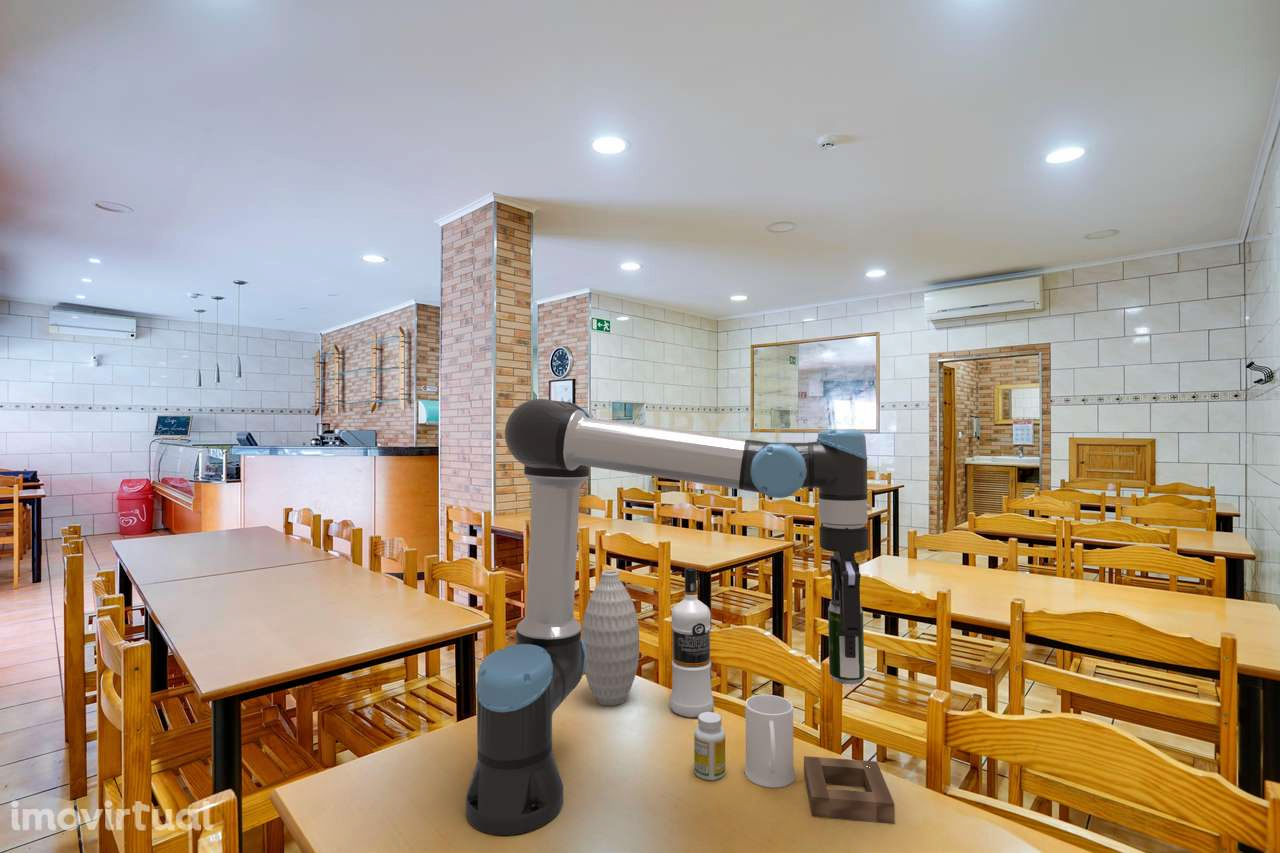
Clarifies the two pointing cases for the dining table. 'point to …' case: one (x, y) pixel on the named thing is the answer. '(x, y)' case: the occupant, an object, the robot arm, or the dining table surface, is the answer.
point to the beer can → (834, 645)
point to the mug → (769, 741)
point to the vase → (610, 640)
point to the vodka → (691, 653)
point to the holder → (846, 802)
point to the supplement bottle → (709, 747)
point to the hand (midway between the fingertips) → (846, 668)
